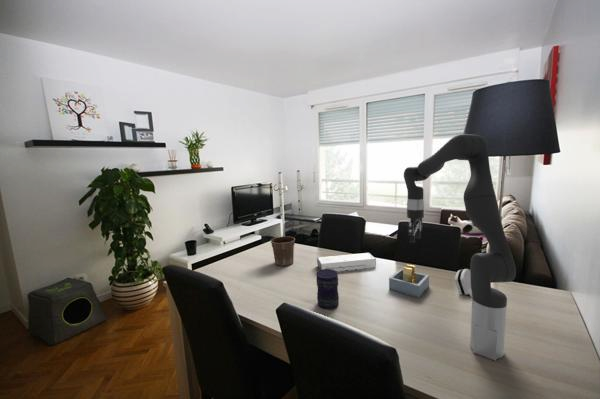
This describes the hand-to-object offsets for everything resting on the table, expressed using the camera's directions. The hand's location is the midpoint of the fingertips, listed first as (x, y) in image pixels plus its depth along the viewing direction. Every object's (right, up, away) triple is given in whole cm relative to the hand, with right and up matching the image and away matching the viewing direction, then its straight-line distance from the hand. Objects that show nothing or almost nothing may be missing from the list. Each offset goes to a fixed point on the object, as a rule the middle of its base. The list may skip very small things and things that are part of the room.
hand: (415, 240), depth 130 cm
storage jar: (-44, -28, -8) cm, 53 cm away
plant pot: (-67, -22, +46) cm, 84 cm away
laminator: (-28, -22, +35) cm, 50 cm away
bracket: (-2, -24, +3) cm, 24 cm away
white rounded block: (+25, -24, 0) cm, 34 cm away
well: (-2, -24, +3) cm, 25 cm away
